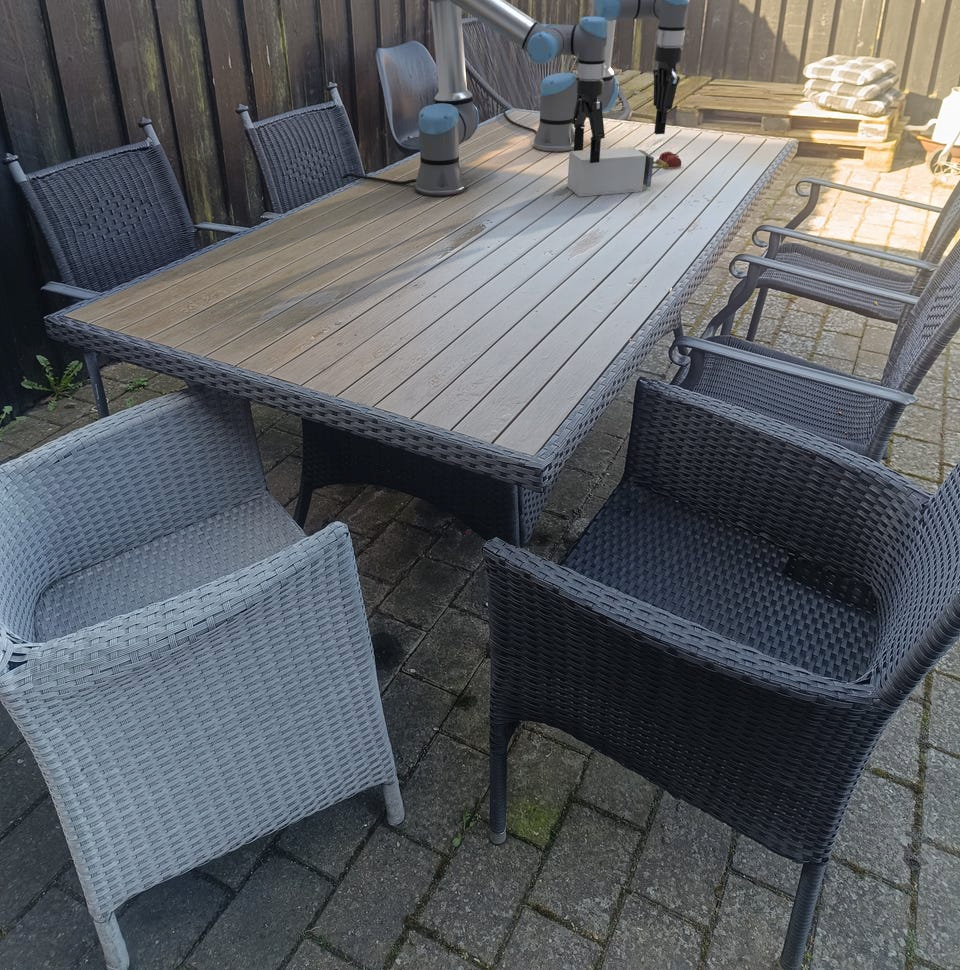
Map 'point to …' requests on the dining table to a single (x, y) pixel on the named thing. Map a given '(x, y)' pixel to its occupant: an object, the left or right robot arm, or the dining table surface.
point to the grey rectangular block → (606, 172)
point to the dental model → (670, 159)
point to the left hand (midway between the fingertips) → (586, 156)
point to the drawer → (651, 168)
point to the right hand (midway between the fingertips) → (659, 133)
